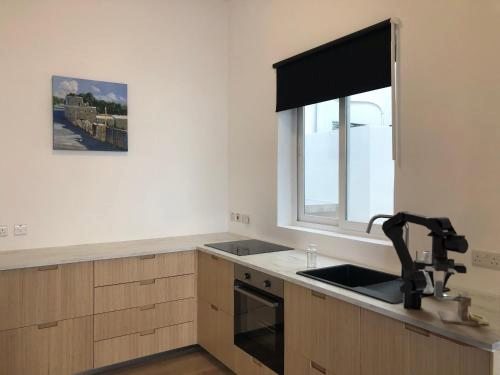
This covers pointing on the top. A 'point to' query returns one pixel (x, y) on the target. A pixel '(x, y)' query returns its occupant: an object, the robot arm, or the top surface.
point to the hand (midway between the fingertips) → (438, 288)
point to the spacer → (477, 318)
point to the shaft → (439, 292)
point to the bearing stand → (459, 312)
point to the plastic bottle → (427, 259)
